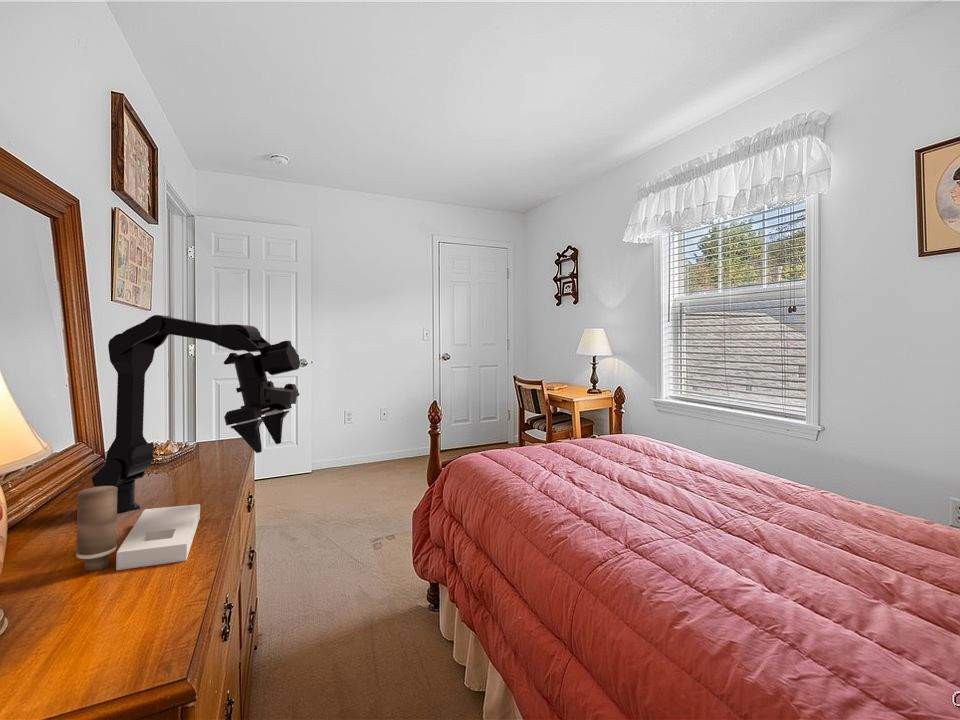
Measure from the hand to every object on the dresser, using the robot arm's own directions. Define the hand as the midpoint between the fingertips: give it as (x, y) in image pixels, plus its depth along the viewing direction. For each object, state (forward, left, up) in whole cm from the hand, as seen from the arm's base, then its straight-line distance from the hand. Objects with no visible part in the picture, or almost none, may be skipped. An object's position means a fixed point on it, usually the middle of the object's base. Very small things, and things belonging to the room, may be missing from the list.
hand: (269, 447), depth 105 cm
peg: (+3, -31, -15) cm, 35 cm away
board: (-1, -20, -15) cm, 25 cm away
